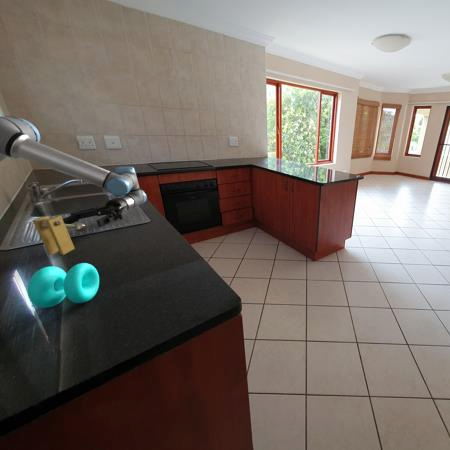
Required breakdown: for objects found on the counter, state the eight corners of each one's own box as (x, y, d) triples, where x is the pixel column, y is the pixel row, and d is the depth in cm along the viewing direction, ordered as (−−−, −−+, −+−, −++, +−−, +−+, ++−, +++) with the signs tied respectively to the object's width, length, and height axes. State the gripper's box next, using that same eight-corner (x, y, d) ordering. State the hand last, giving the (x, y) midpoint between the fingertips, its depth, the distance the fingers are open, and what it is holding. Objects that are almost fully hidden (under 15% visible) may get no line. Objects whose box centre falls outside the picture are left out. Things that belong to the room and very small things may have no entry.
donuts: (63, 290, 65) (48, 259, 61) (105, 285, 67) (93, 255, 63) (35, 317, 56) (16, 283, 52) (85, 310, 58) (70, 277, 54)
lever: (78, 232, 90) (80, 223, 90) (87, 232, 90) (89, 223, 90) (38, 227, 76) (40, 217, 76) (49, 227, 76) (51, 217, 76)
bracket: (64, 247, 87) (49, 212, 81) (87, 247, 87) (73, 212, 81) (37, 262, 77) (17, 224, 72) (62, 262, 77) (44, 224, 72)
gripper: (89, 197, 106) (42, 214, 87) (145, 197, 107) (110, 214, 87) (95, 212, 109) (51, 232, 90) (149, 213, 110) (117, 232, 90)
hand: (80, 223), depth 88 cm, fingers open, 13 cm apart
